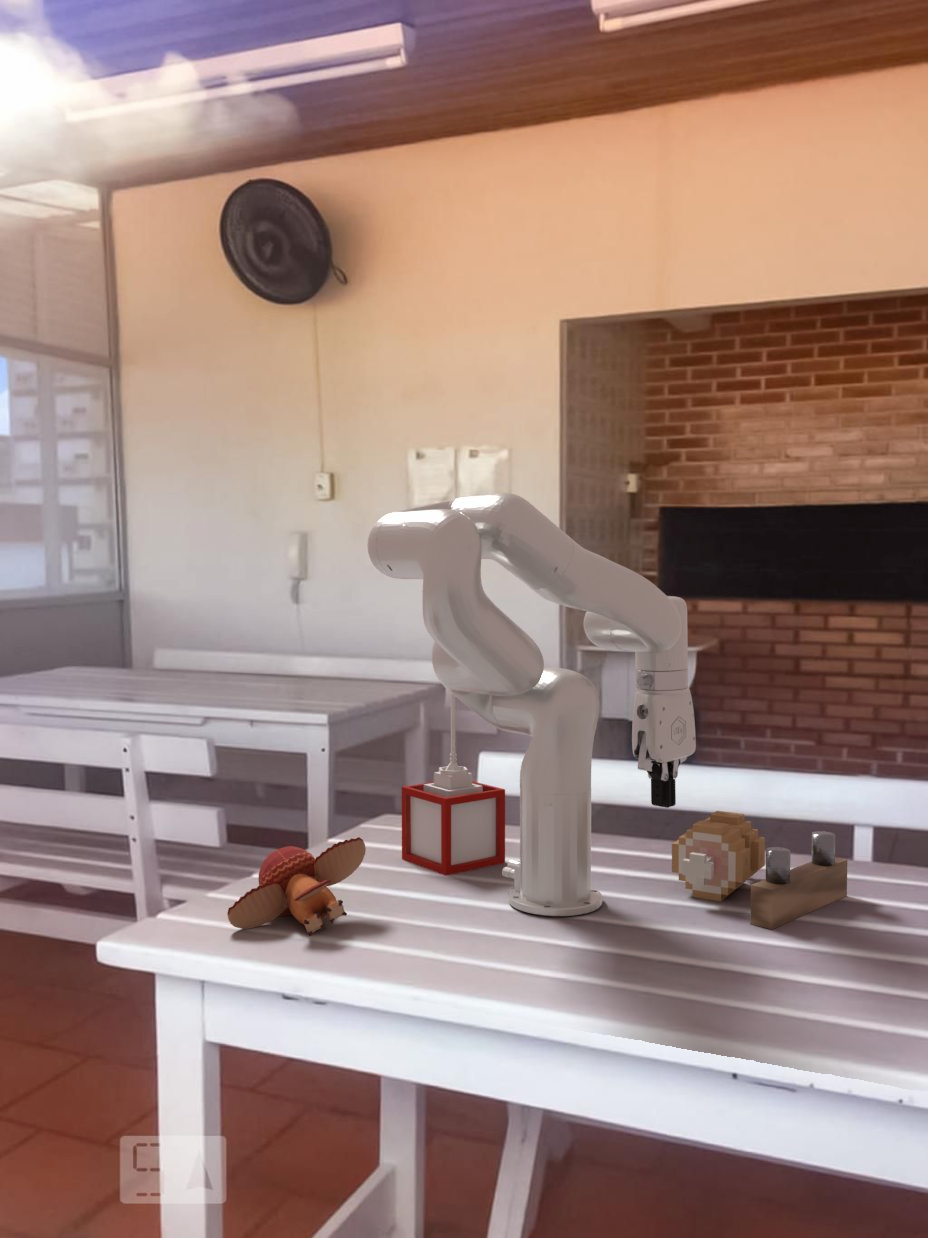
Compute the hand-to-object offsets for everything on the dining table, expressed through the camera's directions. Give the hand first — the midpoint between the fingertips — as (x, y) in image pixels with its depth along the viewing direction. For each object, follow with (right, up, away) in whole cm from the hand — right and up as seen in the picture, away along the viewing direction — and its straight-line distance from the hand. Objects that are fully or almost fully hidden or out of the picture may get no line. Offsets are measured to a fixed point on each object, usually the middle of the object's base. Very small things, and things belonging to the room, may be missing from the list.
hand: (663, 805), depth 159 cm
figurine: (-50, -12, -20) cm, 56 cm away
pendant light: (-31, -10, +8) cm, 34 cm away
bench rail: (+15, -11, -16) cm, 25 cm away
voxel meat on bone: (+6, -11, -7) cm, 14 cm away
